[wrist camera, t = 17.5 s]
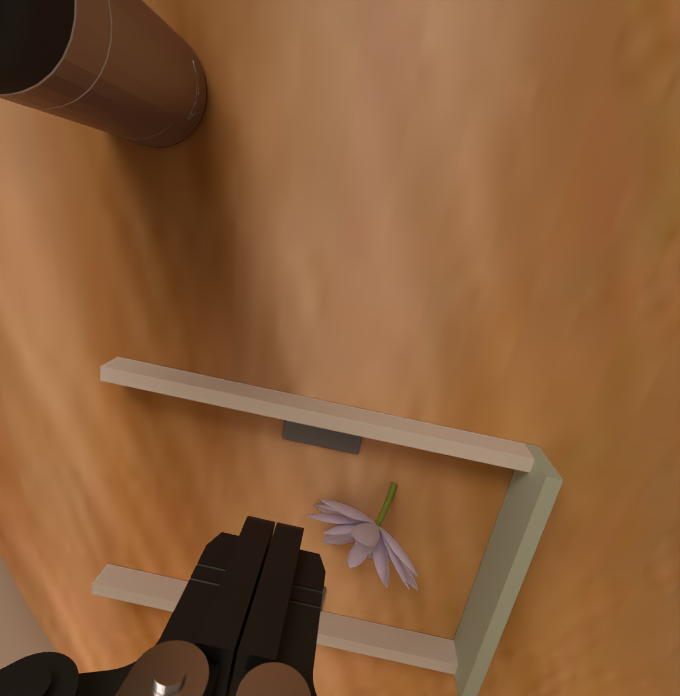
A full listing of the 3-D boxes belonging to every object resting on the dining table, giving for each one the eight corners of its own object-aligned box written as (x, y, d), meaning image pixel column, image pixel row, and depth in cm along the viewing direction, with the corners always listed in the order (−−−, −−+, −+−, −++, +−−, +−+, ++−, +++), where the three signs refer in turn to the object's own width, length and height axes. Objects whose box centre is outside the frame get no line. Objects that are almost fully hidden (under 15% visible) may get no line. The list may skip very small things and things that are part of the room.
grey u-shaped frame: (107, 573, 53) (74, 616, 47) (118, 356, 45) (80, 376, 39) (462, 652, 52) (473, 705, 47) (538, 446, 44) (563, 480, 39)
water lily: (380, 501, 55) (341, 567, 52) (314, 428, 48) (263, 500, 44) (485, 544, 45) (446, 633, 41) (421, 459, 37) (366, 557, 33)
